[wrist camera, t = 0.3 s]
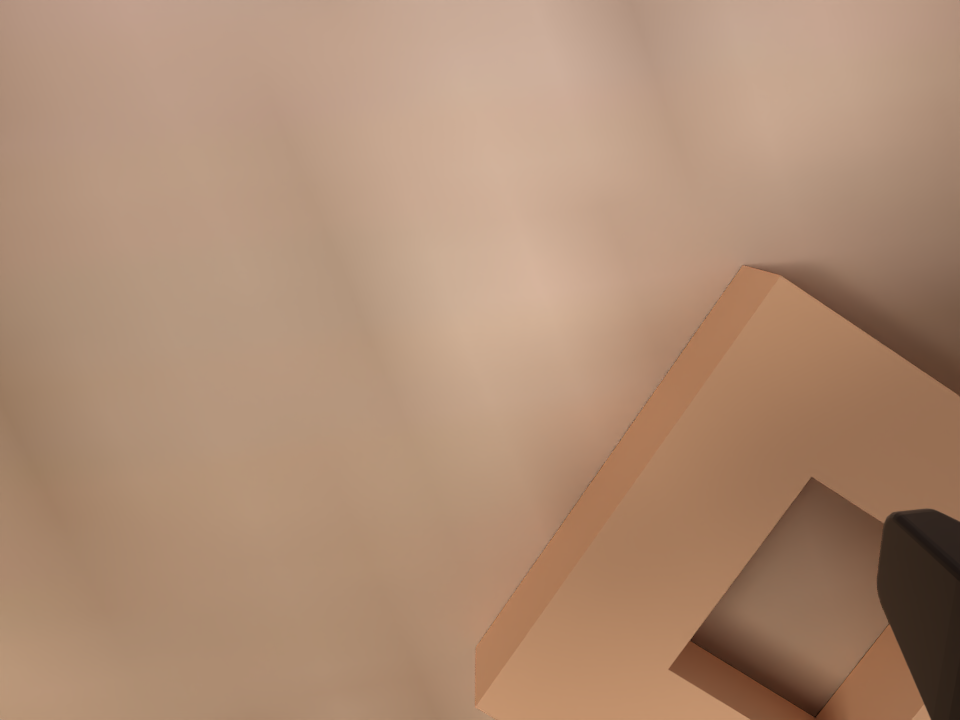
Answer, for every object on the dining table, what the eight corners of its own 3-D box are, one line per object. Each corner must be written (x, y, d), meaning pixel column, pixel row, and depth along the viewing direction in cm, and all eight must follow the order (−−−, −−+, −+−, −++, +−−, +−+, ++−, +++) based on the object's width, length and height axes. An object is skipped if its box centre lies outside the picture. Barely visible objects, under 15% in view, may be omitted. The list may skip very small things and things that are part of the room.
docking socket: (838, 864, 27) (883, 947, 24) (475, 648, 26) (475, 707, 23) (1121, 519, 25) (1207, 563, 22) (743, 265, 24) (781, 275, 21)
